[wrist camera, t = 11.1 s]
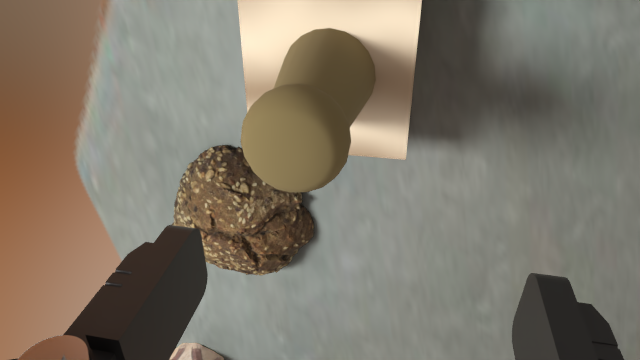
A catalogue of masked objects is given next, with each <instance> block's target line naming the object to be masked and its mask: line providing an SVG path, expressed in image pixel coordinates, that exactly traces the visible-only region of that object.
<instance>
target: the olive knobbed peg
mask: <svg viewBox="0 0 640 360" xmlns="http://www.w3.org/2000/svg"><path fill="white" fill-rule="evenodd" d="M375 81H376V77H375V65H374V63H373V61H372V58H371V56H370V53H369V51H368V50H367V49H366V48H365V47H364V45H363V44H362V43H361V42H360V41H359V40H358V39H357V38H355V37H353V36H352V35H350V34H348V33H347V32H345V31H341V30H336V29H332V28H325V29H315V30H312V31H310V32H308V33H306V34H304V35H302V36H300V37H299V38H298V39H297V40H296V41H295V42H294V43H293V44H292V45H291V46H290V48H289V50H288V52H287V54H286V56H285V58H284V61H283V64H282V66H281V69H280V72H279V75H278V77H277V80H276V83H275V86H274V88H273V89H272V90H269V91H267V92H265V93H264V94H263V95H262V96H261V97H260V98H259V99H258V100H256V101H255V102H254V103H253V105H252V106H251V107H250V108H249V110H248V113H247V115H246V117H245V119H244V121H243V125H242V134H241V145H242V149H243V153H244V157H245V158H246V160H247V162H248V163H249V165H250V167H251V169H252V170H253V172H254V173H255V174H256V175H257V176H258V177H259V178H260V179H261V180H262V181H263V182H265V183H267V184H269V185H270V186H272V187H274V188H276V189H279V190H283V191H287V192H309V191H312V190H316V189H319V188H322V187H324V186H325V185H326V184H328V183H329V182H330V181H332V180H333V179H334V178H335V177H336V176H337V175H338V174H339V172H340V171H341V169H342V168H343V166H344V165H345V163H346V162H347V158H348V153H349V149H350V145H351V135H350V127H351V125H352V124H353V122H354V121H355V119H356V118H357V116H358V115H359V113H360V112H361V110H362V109H363V107H364V106H365V104H366V103H367V101H368V100H369V98H370V97H371V95H372V93H373V89H374V85H375Z"/></svg>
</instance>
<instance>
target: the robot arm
mask: <svg viewBox="0 0 640 360" xmlns="http://www.w3.org/2000/svg"><path fill="white" fill-rule="evenodd" d="M206 285H207V268H206V261H205V255H204V249H203V242H202V236H201V232H200V230H199V229H197V228H190V227H182V226H175V225H169V226H167V227H166V228H165V229H164V230H163V231H162V233H161V234H160V235H159V237H158V238H157V239H156V241H155V242H154V243H149V242H145V243H144V244H142V245H141V246H139V247H138V248H136V249H135V250H133V251H132V252H130V253H129V254H128V255H127V256H126V257H125V258H124V260H123V261H122V262H121V264H120V265H119V266H118V267H117V268H116V272H115V273H112V275H111V276H110V277H109V278H108V280H107V281H106V284H105V285H103V286H102V287H101V289H100V290H99V291H98V292H97V294H96V295H95V296H94V297H93V299H92V300H91V301H90V302H89V304H88V305H87V306H86V307H85V309H84V310H83V311H82V312H81V314H80V315H79V316H78V317H77V319H76V320H75V321H74V322H73V324H72V325H71V326H70V327H69V329H68V330H67V331H66V332H65V333H64V335H60V336H54V337H51V338H48V339H45V340H42V341H40V342H38V343H37V344H35V345H33V346H32V347H30V348H29V349H28V350H26V351H25V352H24V353H23V354H22V355H21V356H20V357H19V358H18V359H12V360H169V359H170V357H171V355H172V353H173V352H174V350H175V348H176V346H177V344H178V342H179V340H180V338H181V337H182V335H183V333H184V331H185V329H186V327H187V325H188V324H189V322H190V320H191V318H192V316H193V314H194V312H195V310H196V309H197V307H198V305H199V303H200V301H201V299H202V297H203V295H204V292H205V289H206ZM512 343H513V349H514V355H515V360H624V359H623V356H622V354H621V351H620V349H618V348H617V346H618V344H617V342H616V340H615V337H614V335H613V332H612V330H611V328H610V325H609V323H608V322H607V321H606V320H605V319H604V318H603V317H602V316H601V315H600V313H599V312H598V311H597V310H596V309H595V308H594V307H593V306H592V305H591V304H586V303H579V302H577V300H576V298H575V295H574V292H573V289H572V287H571V284H570V282H569V280H568V279H567V278H565V277H558V276H551V275H543V274H535V273H531V274H530V275H529V276H528V278H527V281H526V284H525V287H524V290H523V293H522V296H521V299H520V302H519V305H518V308H517V311H516V314H515V317H514V321H513V328H512Z"/></svg>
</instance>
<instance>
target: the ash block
mask: <svg viewBox="0 0 640 360" xmlns="http://www.w3.org/2000/svg"><path fill="white" fill-rule="evenodd" d="M421 4H422V0H238V10H239V22H240V33H241V44H242V56H243V67H244V78H245V90H246V101H247V112H248V110H249V108H250V107H251V106H252V105H253V103H254V102H255V101H256V100H258V99H259V98H260V97H261V96H262V95H263V94H264V93H265V92H267V91H269V90H272V89H273V88H274V86H275V83H276V80H277V77H278V75H279V72H280V69H281V66H282V64H283V61H284V58H285V56H286V54H287V52H288V50H289V48H290V46H291V45H292V44H293V43H294V42H295V41H296V40H297V39H298V38H299V37H300V36H302V35H304V34H306V33H308V32H310V31H312V30H315V29H325V28H332V29H336V30H341V31H345V32H347V33H348V34H350V35H352V36H353V37H355V38H357V39H358V40H359V41H360V42H361V43H362V44H363V45H364V47H365V48H366V49H367V50H368V51H369V53H370V56H371V58H372V61H373V63H374V65H375V77H376V81H375V85H374V89H373V93H372V95H371V97H370V98H369V100H368V101H367V103H366V104H365V106H364V107H363V109H362V110H361V112H360V113H359V115H358V116H357V118H356V119H355V121H354V122H353V124H352V125H351V127H350V135H351V145H350V149H349V153H348V155H356V156H368V157H380V158H392V159H404V160H406V151H407V141H408V131H409V121H410V112H411V102H412V92H413V82H414V72H415V63H416V53H417V43H418V33H419V24H420V14H421Z"/></svg>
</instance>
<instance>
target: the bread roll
mask: <svg viewBox="0 0 640 360" xmlns="http://www.w3.org/2000/svg"><path fill="white" fill-rule="evenodd" d="M302 202H303V201H302V194H301V192H287V191H283V190H279V189H276V188H274V187H272V186H270V185H269V184H267V183H265V182H263V181H262V180H261V179H260V178H259V177H258V176H257V175H256V174H255V173H254V172H253V170H252V169H251V167H250V165H249V163H248V162H247V160H246V158H245V157H244V153H243V149H241V148H240V147H238V148H230V147H229V146H227V145H222V146H215V147H211V148H209V149H208V150H205V151H204V152H203V153H201V154H200V155H199V158H197V159H196V160H195V161H194V162H192V163H190V164H189V165H188V168H187V170H186V172H185V173H184V174H183V177H182V179H181V180H180V187H179V188H178V192H177V198H176V201H175V207H174V212H175V214H174V223H173V224H172V225H175V226H182V227H190V228H197V229H199V230H200V232H201V236H202V242H203V249H204V255H205V261H206V262H208V263H210V264H214V265H216V266H218V267H219V268H223V269H228V270H235V271H238V272H241V273H246V275H247V274H255V275H258V274H259V275H264V274H268V273H272V272H274V271H275V272H278V271H279V270H280V269H282V267H284V266H287V265H288V264H289V263H290V262H291V260H292V257H293V256H294V255H295V254H297V252H298V250H299V248H300V247H302V246H303V245H305V244H307V243H308V242H309V241H310V239H311V238H312V237H313V231H314V230H313V229H314V225H313V220H312V218H311V216H310V214H309V212H308V211H307V209H306V208H305V207H304V206H302V205H301V203H302Z"/></svg>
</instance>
